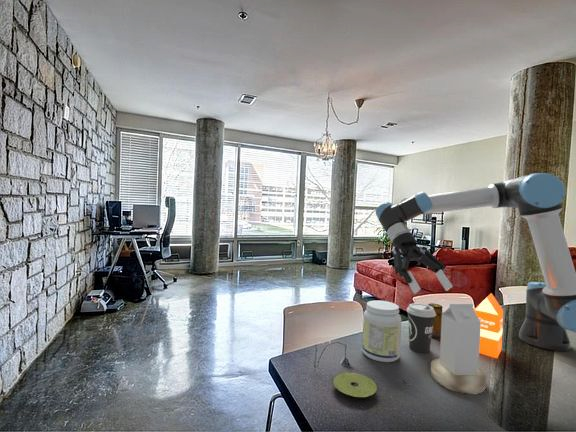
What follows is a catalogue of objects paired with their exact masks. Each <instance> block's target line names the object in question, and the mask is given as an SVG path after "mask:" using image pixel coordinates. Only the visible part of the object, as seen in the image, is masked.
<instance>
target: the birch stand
mask: <svg viewBox="0 0 576 432" xmlns="http://www.w3.org/2000/svg"><path fill="white" fill-rule="evenodd" d="M430 377H431V378H432V379H433V381H435V383H437V384H438V383H439V384H438V385H440V386H441V387H443V386H444V388H446V389H448V390H450V391H453V392H456V393H459V392H460V394H464V393H467V394H466V395H474V394H473V393H480V392H483V391H484V390H485V389H486V390H487V375H486V373H485V372H484V370H482V369H481V368H479V369H478V375H454V374H453V373H451V372H450V371H449V370H448V369H447V368H445V367H444V366H443V365H442V364H441V363H440V357H439V358H438V357H437V358H435V359H433V360H431V361H430ZM486 390H485V391H486ZM485 391H484V392H485ZM484 392H483V393H484Z"/></svg>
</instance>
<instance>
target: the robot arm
mask: <svg viewBox="0 0 576 432" xmlns="http://www.w3.org/2000/svg"><path fill="white" fill-rule="evenodd" d="M565 195H566V187H565V184H564V182H563V181H562V180H561V179H560V178H559V177H558V176H556V175H554V174H551V173H548V172H535V173H530V174H527V175H526V174H525V175H522V176H517V177H514V178H511V179H508V180H505V181H500V182H496V183H490V184H489V185H488V186H486V187H478V188H472V189H464V190H458V191H457V190H456V191H451V192H450V191H448V192H443V193H442V192H441V193H435V194H427V193H426V192H424V191H420V192H418V193H415V194H414V195H412V196H409V197H408V198H407V197H406V198H403V199H401V201H399V203H396V204H393V203H392V202H382V203H381V204H380V205H378V207H377V208H376V209H375V215H376V218H377V219H378V221H379V223H380V225H381V226H382V228H383V230H384V231H385V233H386V234H387V236H388V238H389V240H390V242H391V243H392V245H393V246H394V247H393V248H394V249H393V250H392V251H391V254H392V256H393V264H394V265H393V266H394V273H395V274H396V275H398V277H401V278H402V277H403V278H404V281H405V282H406V284H407V285H408V286H409V288H410V289H411V291H412V293H413V294H414V295H416V294H417V293H418V292H419V291H420V290H422V288H421V287H420V285H419V283H418V282H417V280H416V278H415V277H414V275H413V273H412V272H411V270H409V265H410V262H412V261H414V262H418V263H422V264H423V265H424V266H426V267H427V268H429V269H430V270H432V271H433V272H435V274H434V275H435V276H436V278H437V279H438V281H439V282H440V284H441V285H442V287H443V288H444V290H445V292H446V291H447V292H448V291H449V290H450V289H452V288H453V286H454V285H453V284H452V283H451V282H450V280H449V277H448V276H447V275H446V273H445V271H444V270H445V269H446V268H447V266H446V265H445V264H444V263H443V262H442V261H440V260H439V259H438V257H436V256H435V255H433V254H432V253H431V252H430V251H429V250H428V248H426V246H422V247H421V248H420V247H418V245H417V243H418V242H417V241H418V240H416V238H415V237H414V234H413V233H412V231H411V230H410V229H409V227H408V225H407V224H406V223H407V222H408V221H410V220H412V219H415V218H416V217H419V216H421V215H422V216H423V215H429V214H434V213H435V214H436V213H444V212H452V211H460V210H468V209H475V208H477V209H479V208H485V207H486V208H487V207H491V208H492V209H497V208H498V209H500V208H517V209H518V212H519V216H520V217H521V218H523V219H525V220H526V221H527V224H528V228H529V232H530V236H531V238H532V239H531V240H532V242H533V245H534V248H535V252H536V255H537V259H538V262H539V266H540V269H541V273H542V276H543V279H544V282H542V281H530V282H528V283H527V285H526V286H527V287H526V290H525V291H526V295H525V296H526V297H525V316H524V317H525V318H524V321H523V323H522V325H521V327H520V329H519V330H518V331H519V332H518V338H519V337H520V338H519V340H521V341H523V342H524V343H526V344H529V345H531V346H534V347H538V348H540V349H544V350H545V349H546V350H549V351H556V352H567V351H568V352H569V351H570V350H571V341H570V338H569V335H568V332H567V331H569V332H572V333H576V269H575V266H574V263H573V259H572V255H571V251H570V250H569V249H570V248H569V246H568V242H567V239H566V236H565V232H564V229H563V225H562V222H561V218H560V213H561V211H562V210H563V204H562V201H563V199H564V198H565ZM408 270H409V271H408Z"/></svg>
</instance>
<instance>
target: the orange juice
mask: <svg viewBox="0 0 576 432" xmlns="http://www.w3.org/2000/svg"><path fill="white" fill-rule="evenodd" d="M473 309H474V311H475V313H476V315H477V316H478V318H479V320H480V322H481V327H480V348H479V355H480V354H482V355H485V356H488V357H491V358H493V359H494V358H495V359H498V358H499V355H500V354H501V352H502V348H503V347H502V346H503V343H502V342H503V330H504V329H503V324H504V309H503V308H502V306H501V305H500V304H499V302H498V300H497V299H496V297H495V296H494V294H493V293H492V292H491V293H489V294H488V296H486V297H485V299H483V300H482V301H481V302H480V303H479V304H478V305H477V306H476V307H475V308H473Z"/></svg>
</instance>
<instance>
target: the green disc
mask: <svg viewBox="0 0 576 432" xmlns="http://www.w3.org/2000/svg"><path fill="white" fill-rule="evenodd" d="M332 384H333V385H334V387H335V388H336V389H337V390H338V391H339V392H341V393H343V394H345V395H347V396H351V397H355V398H367V397H370V396H373V395H374V394H375V393H376V392H377V389H378V388H377V385H376V383H375V381H374V380H372V378H370V377H368V376H366V375H364V374H361V373H355V372H343V373H340V374H337V375H336V376H335V377H333V383H332Z"/></svg>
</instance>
